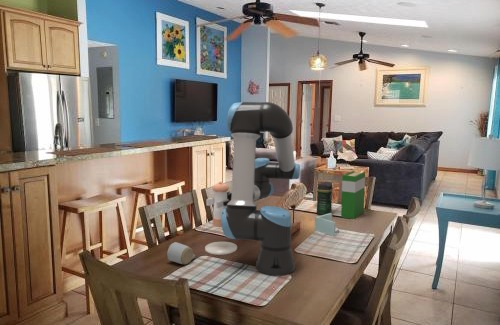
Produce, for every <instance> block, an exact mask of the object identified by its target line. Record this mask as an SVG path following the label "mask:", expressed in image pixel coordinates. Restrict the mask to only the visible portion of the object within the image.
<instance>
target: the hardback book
mask: <svg viewBox="0 0 500 325" xmlns="http://www.w3.org/2000/svg"><path fill="white" fill-rule="evenodd" d="M341 180H342V181H341V182H342V183H341V209H340V210H341V214H340V217H341V218H344V219H349V220H350V219H351V220H355V219H356V218H357V217H359V216H361V215H362V214H363V213H364V212H365V195H366V194H365V190H366V172H365V171H363V172H355V170H352V171H350V172H346V173H345V174H342V179H341Z"/></svg>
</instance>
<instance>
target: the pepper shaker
mask: <svg viewBox="0 0 500 325" xmlns="http://www.w3.org/2000/svg"><path fill="white" fill-rule="evenodd" d="M229 189H230V187H229V185H228V184H227V183H224V182H223V181H219V182H217V183H215V184H214V185H212V191H213V192H214V195H213V196H214V197H213V198H214V204H213V210H212V211H213V217H212V226H213V227H215V228H222V224H221V216H222V211H223V209H225V208H227V206H224V207H221V208H216V202H217V201H221V200H225V199H227V192H229Z"/></svg>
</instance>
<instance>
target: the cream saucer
mask: <svg viewBox="0 0 500 325" xmlns="http://www.w3.org/2000/svg"><path fill="white" fill-rule="evenodd" d="M204 250H205V252H206V253H208V254H210V255H216V256H222V255H230V254H233V253H235V252H236V251H237V250H238V246H237V244H235V243H233V242H230V241H215V242H210V243H207V244H206V245H205V247H204Z"/></svg>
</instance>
